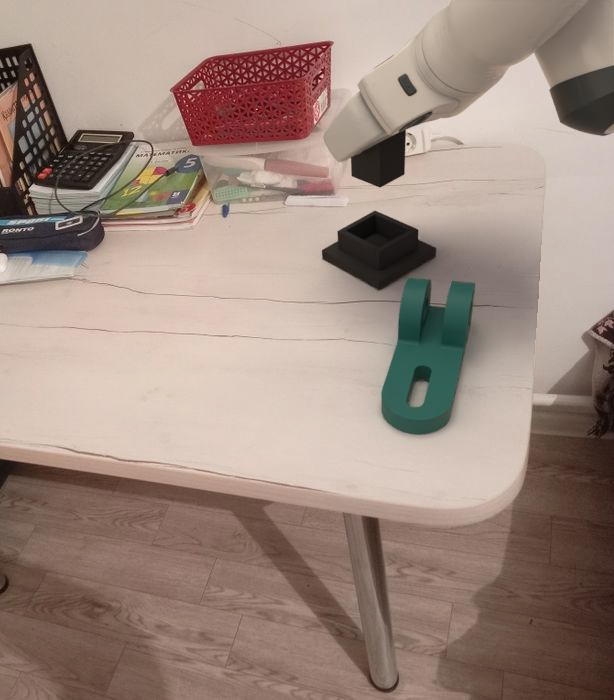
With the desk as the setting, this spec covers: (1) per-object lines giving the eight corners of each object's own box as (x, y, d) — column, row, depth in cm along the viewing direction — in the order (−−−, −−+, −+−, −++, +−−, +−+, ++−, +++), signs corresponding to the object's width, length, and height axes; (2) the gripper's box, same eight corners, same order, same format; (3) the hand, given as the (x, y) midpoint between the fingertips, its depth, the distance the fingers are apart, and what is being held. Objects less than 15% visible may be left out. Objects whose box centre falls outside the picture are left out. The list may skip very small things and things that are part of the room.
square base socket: (435, 256, 83) (437, 228, 80) (378, 290, 81) (378, 262, 78) (375, 228, 91) (375, 201, 88) (322, 258, 89) (320, 232, 86)
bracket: (409, 318, 76) (411, 265, 71) (470, 324, 73) (477, 270, 67) (374, 426, 65) (374, 373, 60) (445, 440, 62) (450, 385, 57)
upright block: (404, 174, 77) (406, 103, 71) (380, 188, 76) (380, 116, 70) (375, 163, 81) (374, 95, 75) (351, 176, 80) (349, 107, 74)
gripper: (502, 7, 65) (424, 84, 78) (350, 81, 60) (294, 150, 74) (535, 57, 64) (450, 126, 78) (384, 135, 60) (322, 195, 73)
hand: (373, 138), depth 76 cm, fingers closed on upright block, 4 cm apart
